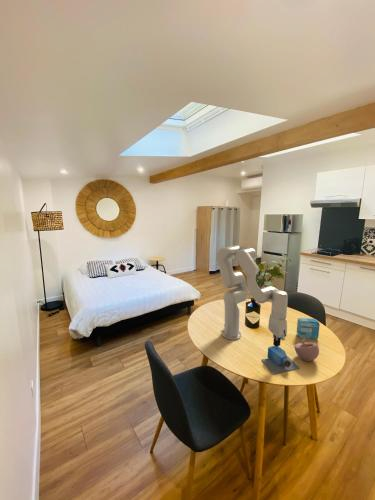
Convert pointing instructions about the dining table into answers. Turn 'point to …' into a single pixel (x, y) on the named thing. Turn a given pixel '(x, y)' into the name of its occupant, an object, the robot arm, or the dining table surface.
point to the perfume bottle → (278, 356)
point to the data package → (308, 328)
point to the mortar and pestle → (307, 350)
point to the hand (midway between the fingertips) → (276, 345)
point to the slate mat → (279, 366)
